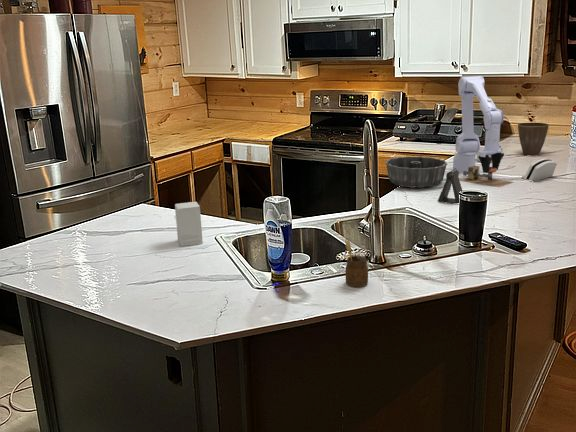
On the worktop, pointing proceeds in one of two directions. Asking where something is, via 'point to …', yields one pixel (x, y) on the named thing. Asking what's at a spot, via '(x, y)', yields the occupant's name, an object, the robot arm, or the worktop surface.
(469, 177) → the wooden holder
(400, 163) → the bundt pan
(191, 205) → the supplement box
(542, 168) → the grey rounded block
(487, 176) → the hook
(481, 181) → the board
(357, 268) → the utensil holder
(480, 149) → the saucepan
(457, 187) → the phone stand
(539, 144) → the plant pot
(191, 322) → the worktop surface
